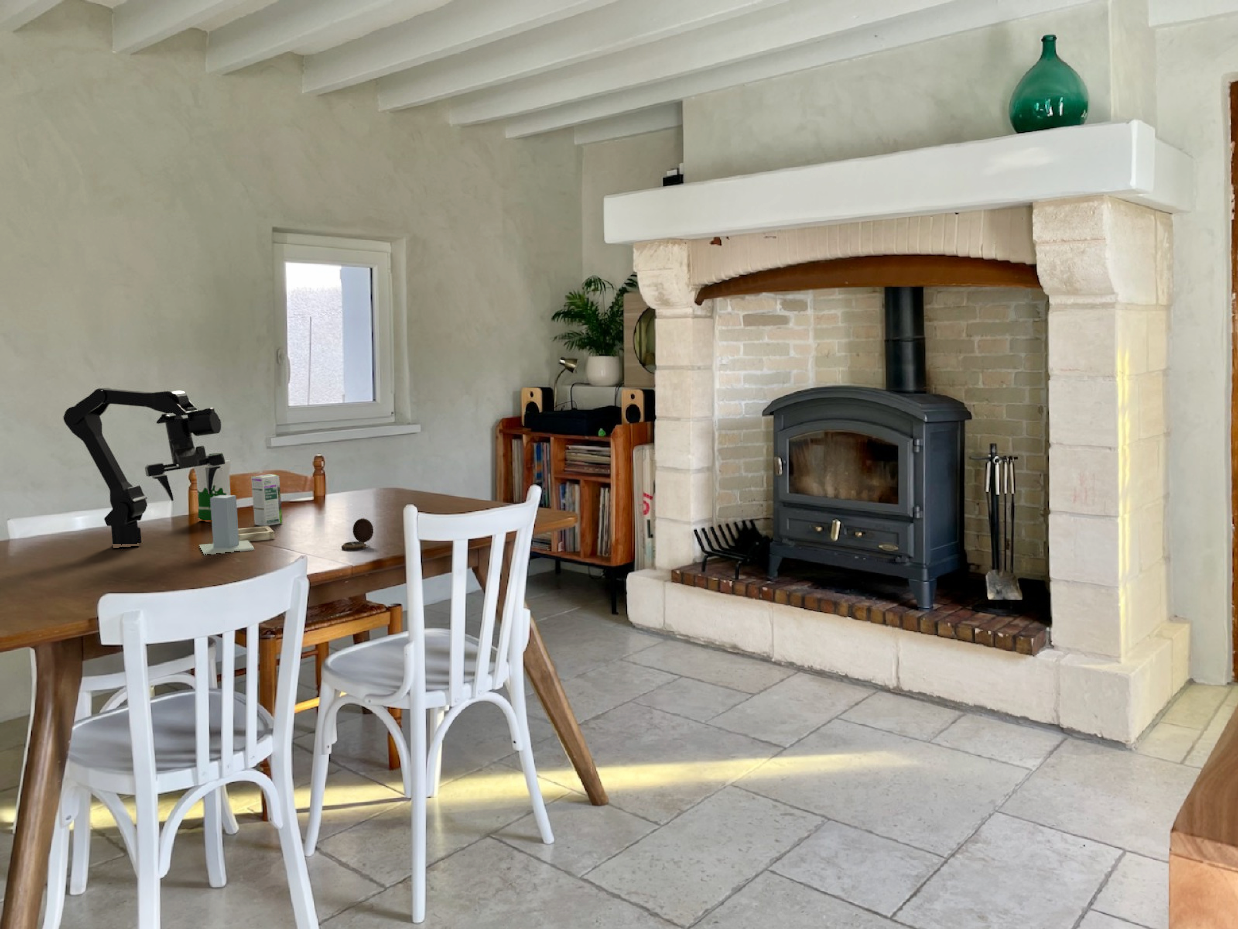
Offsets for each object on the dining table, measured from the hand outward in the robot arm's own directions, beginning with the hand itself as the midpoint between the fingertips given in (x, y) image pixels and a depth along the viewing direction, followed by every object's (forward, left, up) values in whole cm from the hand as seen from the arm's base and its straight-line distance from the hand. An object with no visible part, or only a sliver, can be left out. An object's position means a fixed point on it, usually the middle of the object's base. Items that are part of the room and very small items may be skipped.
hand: (191, 497), depth 262 cm
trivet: (+7, -8, -13) cm, 17 cm away
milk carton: (+9, +40, -13) cm, 43 cm away
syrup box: (+22, +24, -13) cm, 35 cm away
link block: (+7, -8, -12) cm, 16 cm away
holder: (+15, +4, -13) cm, 20 cm away
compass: (+37, -27, -13) cm, 47 cm away
